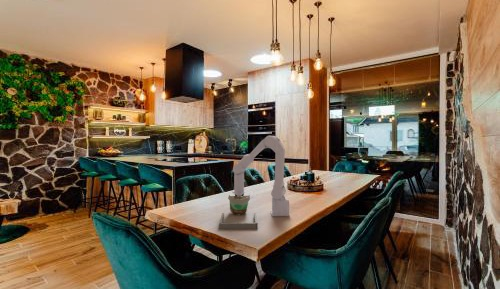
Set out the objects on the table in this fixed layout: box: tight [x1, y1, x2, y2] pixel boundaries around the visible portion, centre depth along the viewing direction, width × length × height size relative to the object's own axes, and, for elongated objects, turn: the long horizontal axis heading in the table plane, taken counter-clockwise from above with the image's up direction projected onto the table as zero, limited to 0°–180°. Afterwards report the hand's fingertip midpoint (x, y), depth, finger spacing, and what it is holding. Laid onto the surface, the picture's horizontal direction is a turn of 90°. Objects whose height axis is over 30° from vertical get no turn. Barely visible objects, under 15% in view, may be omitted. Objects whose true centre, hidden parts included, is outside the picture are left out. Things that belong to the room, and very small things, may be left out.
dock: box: [218, 212, 259, 230], centre depth 128 cm, size 18×17×2 cm
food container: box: [227, 194, 251, 216], centre depth 142 cm, size 12×6×10 cm, turn 100°
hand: (239, 207), depth 150 cm, fingers open, 7 cm apart
